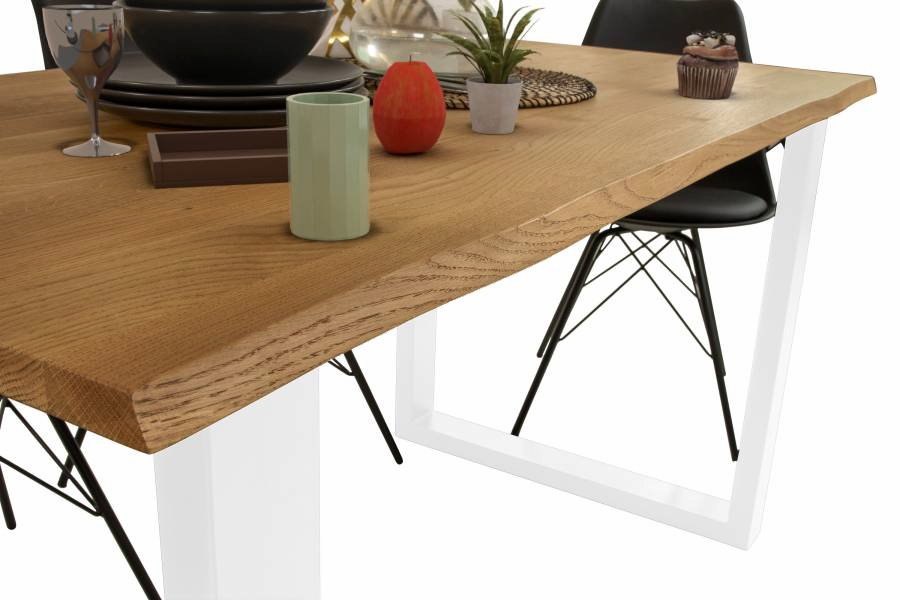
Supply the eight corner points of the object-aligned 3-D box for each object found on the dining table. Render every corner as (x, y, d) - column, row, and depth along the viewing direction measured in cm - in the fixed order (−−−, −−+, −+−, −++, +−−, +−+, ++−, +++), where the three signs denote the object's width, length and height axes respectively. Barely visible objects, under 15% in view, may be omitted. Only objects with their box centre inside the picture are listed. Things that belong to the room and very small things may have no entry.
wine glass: (118, 140, 115) (106, 3, 110) (146, 152, 109) (134, 9, 104) (48, 147, 110) (31, 5, 105) (73, 160, 105) (57, 11, 99)
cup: (298, 249, 78) (294, 106, 74) (285, 227, 83) (280, 93, 79) (377, 243, 80) (377, 103, 76) (359, 222, 85) (358, 91, 81)
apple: (417, 163, 107) (418, 61, 104) (356, 153, 111) (355, 54, 108) (458, 151, 114) (461, 54, 110) (399, 142, 118) (400, 48, 114)
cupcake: (747, 96, 159) (755, 31, 156) (713, 102, 153) (720, 34, 149) (695, 89, 166) (702, 26, 162) (661, 94, 159) (667, 29, 156)
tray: (155, 189, 94) (152, 161, 93) (148, 157, 107) (146, 132, 106) (359, 179, 100) (359, 153, 99) (329, 149, 113) (329, 126, 112)
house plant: (493, 115, 137) (497, -10, 131) (573, 130, 128) (582, -4, 122) (417, 127, 127) (419, -8, 122) (499, 143, 118) (505, -1, 113)
